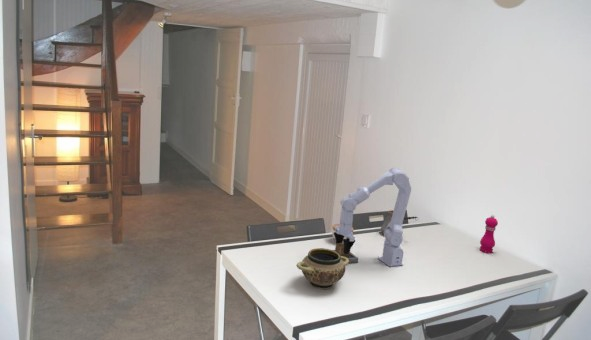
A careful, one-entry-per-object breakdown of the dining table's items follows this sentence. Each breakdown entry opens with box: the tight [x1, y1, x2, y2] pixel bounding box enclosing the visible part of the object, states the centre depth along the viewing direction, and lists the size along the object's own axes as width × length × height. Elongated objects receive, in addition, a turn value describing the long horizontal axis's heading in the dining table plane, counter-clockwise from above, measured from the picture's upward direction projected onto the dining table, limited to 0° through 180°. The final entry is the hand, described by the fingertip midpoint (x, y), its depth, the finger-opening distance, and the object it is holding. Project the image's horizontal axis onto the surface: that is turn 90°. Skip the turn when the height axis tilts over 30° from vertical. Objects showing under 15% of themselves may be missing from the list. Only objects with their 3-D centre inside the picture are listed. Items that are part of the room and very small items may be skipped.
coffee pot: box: [380, 210, 419, 235], centre depth 247 cm, size 21×12×15 cm, turn 39°
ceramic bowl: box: [296, 247, 349, 290], centre depth 183 cm, size 24×18×15 cm
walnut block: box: [334, 242, 351, 258], centre depth 211 cm, size 5×5×6 cm
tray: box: [332, 249, 359, 265], centre depth 212 cm, size 11×11×2 cm
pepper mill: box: [479, 214, 498, 254], centre depth 238 cm, size 7×7×20 cm
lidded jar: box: [331, 223, 355, 243], centre depth 233 cm, size 11×11×9 cm
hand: (342, 250), depth 211 cm, fingers open, 7 cm apart
